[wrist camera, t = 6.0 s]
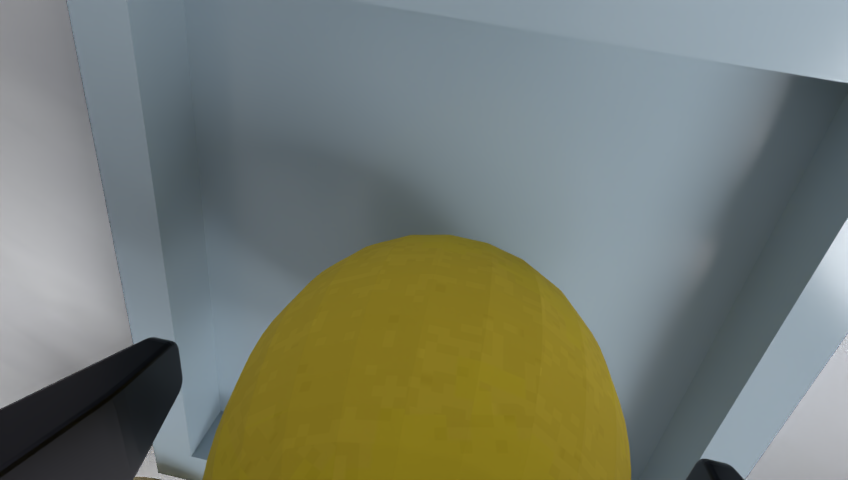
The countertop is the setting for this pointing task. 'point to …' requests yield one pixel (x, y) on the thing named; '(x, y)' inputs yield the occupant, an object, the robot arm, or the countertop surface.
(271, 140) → the dish
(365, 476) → the lemon
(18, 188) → the countertop surface
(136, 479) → the balance
